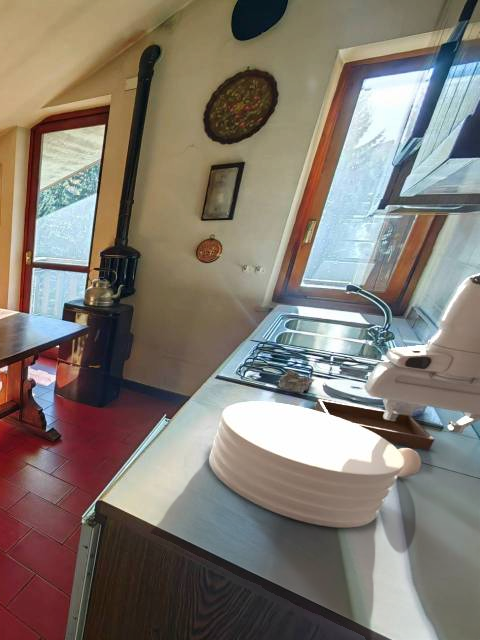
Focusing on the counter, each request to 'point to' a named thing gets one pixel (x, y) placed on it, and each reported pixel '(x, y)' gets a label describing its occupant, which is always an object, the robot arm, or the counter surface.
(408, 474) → the egg
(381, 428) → the tray
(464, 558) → the counter surface
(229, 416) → the plate stack
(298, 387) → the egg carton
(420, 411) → the medicine box
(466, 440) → the counter surface
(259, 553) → the counter surface
